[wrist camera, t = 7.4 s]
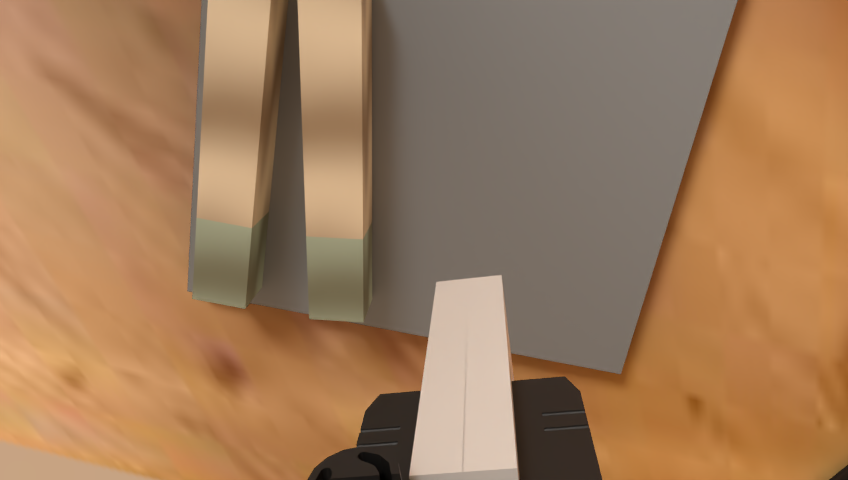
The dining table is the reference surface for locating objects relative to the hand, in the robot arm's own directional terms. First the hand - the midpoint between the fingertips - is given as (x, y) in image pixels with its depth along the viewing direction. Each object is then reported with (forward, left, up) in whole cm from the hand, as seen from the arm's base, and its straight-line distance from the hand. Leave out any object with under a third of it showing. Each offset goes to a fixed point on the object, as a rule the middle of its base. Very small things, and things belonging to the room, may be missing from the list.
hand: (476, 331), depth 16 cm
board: (-2, -2, -17) cm, 17 cm away
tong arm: (0, -6, -16) cm, 17 cm away
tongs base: (-2, -9, -16) cm, 19 cm away
